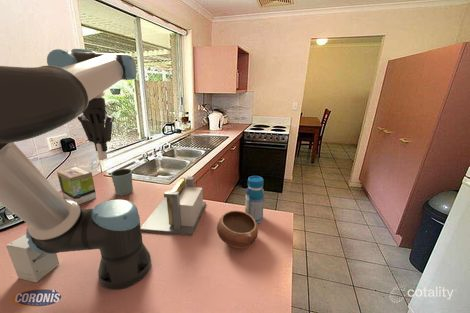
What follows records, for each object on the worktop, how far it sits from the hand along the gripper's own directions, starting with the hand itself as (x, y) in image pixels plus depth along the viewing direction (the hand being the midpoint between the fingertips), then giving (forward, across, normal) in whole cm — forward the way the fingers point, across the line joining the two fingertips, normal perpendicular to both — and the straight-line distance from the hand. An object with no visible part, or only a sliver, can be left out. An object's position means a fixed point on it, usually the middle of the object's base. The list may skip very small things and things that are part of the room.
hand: (103, 159), depth 84 cm
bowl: (+30, -54, +6) cm, 62 cm away
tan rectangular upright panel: (+27, -26, -8) cm, 38 cm away
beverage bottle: (+29, -60, -9) cm, 68 cm away
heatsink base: (+29, -26, -7) cm, 40 cm away
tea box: (+29, +30, -18) cm, 45 cm away
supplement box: (+30, +8, +27) cm, 41 cm away
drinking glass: (+29, +11, -26) cm, 41 cm away
